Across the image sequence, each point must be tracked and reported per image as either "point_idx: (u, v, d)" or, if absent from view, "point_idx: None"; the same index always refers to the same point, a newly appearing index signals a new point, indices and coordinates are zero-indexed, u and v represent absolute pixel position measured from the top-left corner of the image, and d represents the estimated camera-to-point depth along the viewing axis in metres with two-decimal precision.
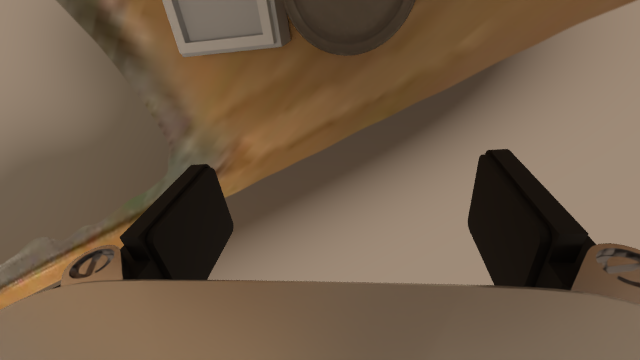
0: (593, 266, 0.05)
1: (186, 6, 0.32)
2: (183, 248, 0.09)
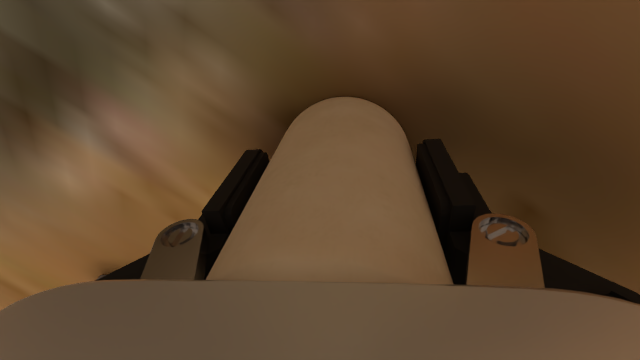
0: (475, 230, 0.07)
1: None
2: None
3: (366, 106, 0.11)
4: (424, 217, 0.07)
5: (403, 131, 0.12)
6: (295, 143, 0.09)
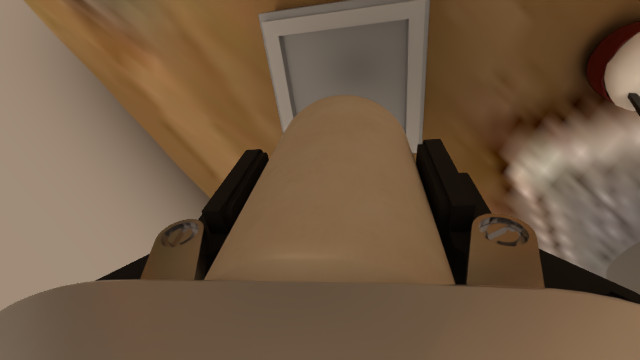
0: (475, 230, 0.07)
1: (328, 40, 0.22)
2: None
3: (366, 104, 0.11)
4: (425, 214, 0.07)
5: None
6: (295, 141, 0.09)
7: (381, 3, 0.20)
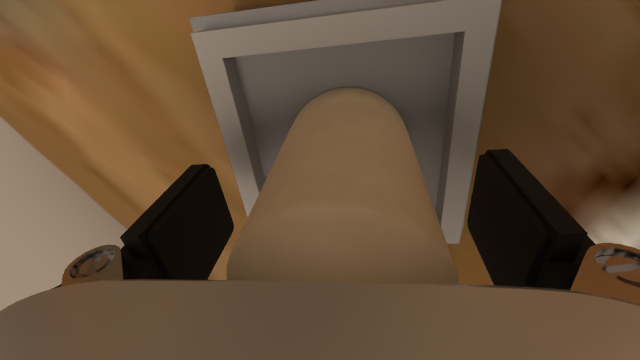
0: (593, 266, 0.05)
1: (314, 64, 0.13)
2: (183, 248, 0.09)
3: (368, 95, 0.12)
4: (420, 184, 0.08)
5: (401, 118, 0.13)
6: (307, 126, 0.10)
7: (410, 1, 0.11)
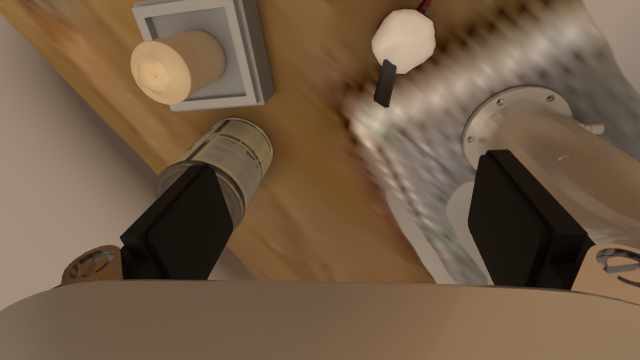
0: (593, 266, 0.05)
1: (182, 21, 0.32)
2: (183, 248, 0.09)
3: (200, 32, 0.31)
4: (188, 47, 0.27)
5: (218, 43, 0.32)
6: None
7: None
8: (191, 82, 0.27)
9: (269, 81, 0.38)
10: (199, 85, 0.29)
